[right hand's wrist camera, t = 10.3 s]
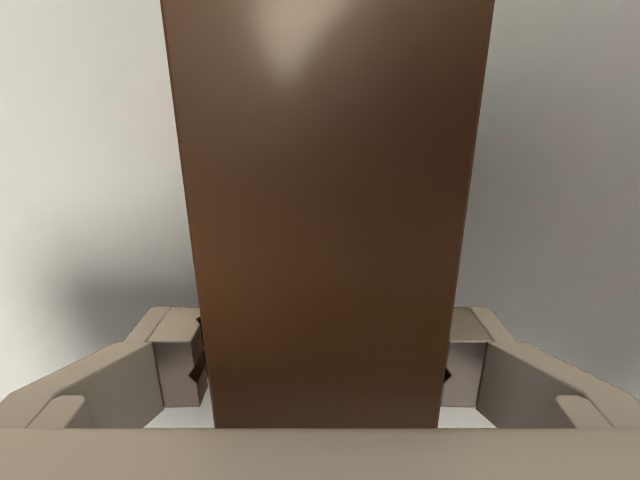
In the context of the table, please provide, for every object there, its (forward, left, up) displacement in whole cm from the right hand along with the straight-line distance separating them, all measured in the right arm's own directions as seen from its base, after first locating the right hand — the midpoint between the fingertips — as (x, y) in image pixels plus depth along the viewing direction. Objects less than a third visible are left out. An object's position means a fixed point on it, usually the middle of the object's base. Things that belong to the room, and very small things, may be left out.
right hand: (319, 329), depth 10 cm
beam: (+20, -14, -5) cm, 25 cm away
